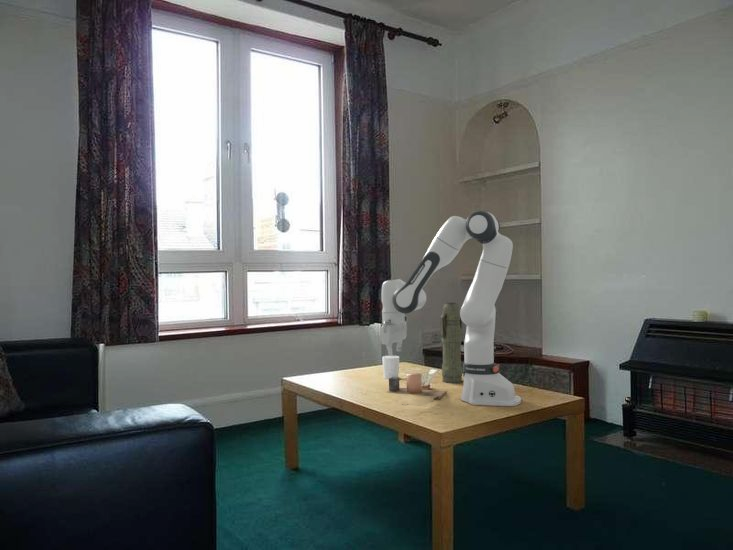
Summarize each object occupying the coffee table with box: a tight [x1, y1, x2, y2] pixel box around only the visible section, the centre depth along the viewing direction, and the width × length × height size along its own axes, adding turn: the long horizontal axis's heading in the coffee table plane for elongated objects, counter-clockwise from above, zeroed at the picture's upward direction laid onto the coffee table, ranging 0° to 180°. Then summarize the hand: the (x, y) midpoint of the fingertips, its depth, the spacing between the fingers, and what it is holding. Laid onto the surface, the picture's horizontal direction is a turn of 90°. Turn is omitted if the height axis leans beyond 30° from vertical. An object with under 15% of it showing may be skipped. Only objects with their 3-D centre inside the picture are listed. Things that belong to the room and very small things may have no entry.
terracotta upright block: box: [406, 372, 423, 393], centre depth 225 cm, size 6×6×7 cm
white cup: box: [381, 355, 400, 380], centre depth 260 cm, size 8×8×10 cm
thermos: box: [439, 302, 463, 384], centre depth 251 cm, size 9×12×35 cm
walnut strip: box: [387, 376, 448, 401], centre depth 224 cm, size 22×10×6 cm, turn 66°
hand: (394, 353), depth 228 cm, fingers open, 8 cm apart
